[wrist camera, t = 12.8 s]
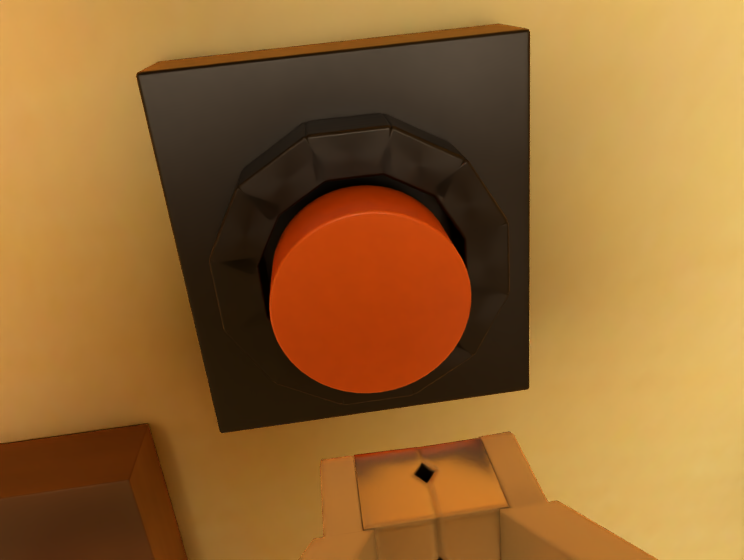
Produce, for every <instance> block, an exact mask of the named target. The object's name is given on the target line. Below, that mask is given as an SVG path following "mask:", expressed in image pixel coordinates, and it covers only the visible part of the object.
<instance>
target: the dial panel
mask: <svg viewBox="0 0 744 560" xmlns="http://www.w3.org/2000/svg"><path fill="white" fill-rule="evenodd" d="M0 560H187V556H186V553H185V549H184V546H183V542H182V539H181V536H180V532H179V529H178V525H177V522H176V518H175V515H174V511H173V508H172V504H171V501H170V497H169V494H168V491H167V487H166V484H165V480H164V477H163V473H162V470H161V466H160V463H159V459H158V456H157V452H156V449H155V445H154V442H153V439H152V435H151V432H150V428H149V425H148V424H142V425H135V426H128V427H121V428H114V429H107V430H100V431H93V432H86V433H78V434H71V435H64V436H57V437H50V438H43V439H36V440H29V441H22V442H15V443H8V444H1V445H0Z"/></svg>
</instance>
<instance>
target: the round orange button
mask: <svg viewBox="0 0 744 560" xmlns="http://www.w3.org/2000/svg"><path fill="white" fill-rule="evenodd" d="M470 308H471V286H470V280H469V276H468V272H467V269H466V267H465V264H464V262H463V260H462V258H461V256H460V255H459V253H458V251H457V250H456V248H455V246H454V245H453V243H452V242H451V240H450V238H449V237H448V235H447V233H446V232H445V230H444V228H443V227H442V225H441V224H440V222H439V220H438V219H437V218H436V217H435V216H434V214H433V213H432V212H431V211H430V210H429V209H428V208H427V207H425V206H424V205H423V204H422V203H420V202H419V201H418V200H416V199H415V198H413V197H411V196H409V195H407V194H405V193H403V192H400V191H397V190H394V189H392V188H387V187H382V186H373V185H359V186H350V187H345V188H341V189H338V190H334V191H331V192H329V193H327V194H325V195H322V196H320V197H318V198H317V199H315V200H314V201H312V202H310V203H309V204H307V205H306V206H305V207H304V208H303V209H302V210H300V211H299V212H298V213H297V214H296V215H295V216H294V218H293V219H292V220H291V221H290V222H289V224H288V225H287V227H286V228H285V229H284V231H283V233H282V235H281V237H280V239H279V241H278V244H277V247H276V250H275V253H274V258H273V264H272V276H271V287H270V302H269V311H270V321H271V324H272V328H273V332H274V334H275V337H276V339H277V342H278V344H279V345H280V347H281V349H282V350H283V352H284V353H285V355H286V356H287V357H288V358H289V360H290V361H291V362H292V363H293V364H294V365H295V366H296V367H297V368H298V369H299V370H300V371H302V372H303V373H304V374H306V375H307V376H309V377H310V378H312V379H314V380H315V381H317V382H319V383H321V384H323V385H326V386H328V387H331V388H334V389H338V390H342V391H347V392H354V393H377V392H384V391H389V390H394V389H397V388H400V387H403V386H406V385H408V384H411V383H413V382H415V381H417V380H419V379H421V378H422V377H424V376H426V375H427V374H429V373H430V372H431V371H433V370H434V369H435V368H437V367H438V366H439V365H440V364H441V363H442V362H443V361H444V360H445V359H446V358H447V357H448V356H449V355H450V353H451V352H452V351H453V350H454V348H455V347H456V345H457V343H458V342H459V340H460V338H461V336H462V334H463V332H464V330H465V328H466V324H467V321H468V318H469V313H470Z"/></svg>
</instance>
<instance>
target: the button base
mask: <svg viewBox="0 0 744 560" xmlns="http://www.w3.org/2000/svg"><path fill="white" fill-rule="evenodd" d="M136 78H137V82H138V86H139V90H140V95H141V99H142V103H143V107H144V112H145V116H146V120H147V124H148V129H149V133H150V137H151V141H152V146H153V150H154V154H155V158H156V163H157V167H158V171H159V175H160V180H161V184H162V188H163V192H164V197H165V201H166V205H167V209H168V214H169V218H170V222H171V226H172V231H173V235H174V239H175V243H176V248H177V252H178V256H179V260H180V265H181V269H182V273H183V277H184V281H185V286H186V290H187V294H188V298H189V303H190V307H191V311H192V315H193V320H194V324H195V328H196V332H197V337H198V341H199V345H200V349H201V354H202V358H203V362H204V366H205V371H206V375H207V379H208V383H209V388H210V392H211V396H212V400H213V405H214V409H215V413H216V417H217V422H218V426H219V430H220V432H221V433H226V432H233V431H240V430H247V429H254V428H261V427H268V426H275V425H282V424H289V423H296V422H303V421H310V420H317V419H324V418H331V417H338V416H345V415H352V414H359V413H366V412H373V411H380V410H387V409H394V408H401V407H408V406H415V405H422V404H429V403H436V402H443V401H450V400H457V399H464V398H471V397H478V396H485V395H492V394H499V393H506V392H513V391H520V390H527V389H529V233H530V31H529V29H526V28H520V27H514V26H509V25H503V24H492V25H483V26H474V27H465V28H457V29H448V30H439V31H430V32H421V33H412V34H403V35H394V36H385V37H376V38H367V39H358V40H349V41H340V42H331V43H322V44H313V45H304V46H295V47H286V48H277V49H268V50H259V51H250V52H241V53H232V54H223V55H214V56H205V57H196V58H187V59H178V60H169V61H160V62H157V63H155V64H153V65H151V66H149V67H147V68H146V69H144V70H142V71H140V72H138V73H137V74H136ZM359 185H373V186H382V187H387V188H392V189H394V190H397V191H400V192H403V193H405V194H407V195H409V196H411V197H413V198H415V199H416V200H418V201H419V202H420V203H422V204H423V205H424V206H425V207H427V208H428V209H429V210H430V211H431V212H432V213H433V214H434V216H435V217H436V218H437V219H438V220H439V222H440V224H441V225H442V227H443V228H444V230H445V232H446V233H447V235H448V237H449V238H450V240H451V242H452V243H453V245H454V246H455V248H456V250H457V251H458V253H459V255H460V256H461V258H462V260H463V262H464V264H465V267H466V269H467V272H468V276H469V280H470V286H471V308H470V313H469V318H468V321H467V324H466V328H465V330H464V332H463V334H462V336H461V338H460V340H459V342H458V343H457V345H456V347H455V348H454V350H453V351H452V352H451V353H450V355H449V356H448V357H447V358H446V359H445V360H444V361H443V362H442V363H441V364H440V365H439V366H438V367H437V368H435V369H434V370H433V371H431V372H430V373H429V374H427V375H426V376H424V377H422V378H421V379H419V380H417V381H415V382H413V383H411V384H408V385H406V386H403V387H400V388H397V389H394V390H389V391H384V392H377V393H354V392H347V391H342V390H338V389H334V388H331V387H328V386H326V385H323V384H321V383H319V382H317V381H315V380H314V379H312V378H310V377H309V376H307V375H306V374H304V373H303V372H302V371H300V370H299V369H298V368H297V367H296V366H295V365H294V364H293V363H292V362H291V361H290V360H289V358H288V357H287V356H286V355H285V353H284V352H283V350H282V349H281V347H280V345H279V344H278V342H277V339H276V337H275V334H274V332H273V328H272V324H271V321H270V311H269V302H270V287H271V276H272V264H273V258H274V253H275V250H276V247H277V244H278V241H279V239H280V237H281V235H282V233H283V231H284V229H285V228H286V227H287V225H288V224H289V222H290V221H291V220H292V219H293V218H294V216H295V215H296V214H297V213H298V212H299V211H300V210H302V209H303V208H304V207H305V206H306V205H307V204H309V203H310V202H312V201H314V200H315V199H317V198H318V197H320V196H322V195H325V194H327V193H329V192H331V191H334V190H338V189H341V188H345V187H350V186H359Z"/></svg>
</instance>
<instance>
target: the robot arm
mask: <svg viewBox="0 0 744 560" xmlns="http://www.w3.org/2000/svg"><path fill="white" fill-rule="evenodd" d="M354 458H355V463H354ZM355 467H356V470H355ZM320 474H321V495H322V515H323V535H324V537H320V538H315V539H313V540H312V542H311V543H310V545H309V546H308V547H307V549H306V550H305V551H304V553H303V554H302V556H301V557H300V558H299V560H658V559H656V558H655V557H653V556H651V555H649V554H648V553H646V552H644V551H643V550H641V549H639V548H638V547H636V546H634V545H632V544H631V543H629V542H627V541H626V540H624V539H622V538H620V537H619V536H617V535H615V534H614V533H612V532H610V531H609V530H607V529H605V528H603V527H602V526H600V525H598V524H597V523H595V522H593V521H591V520H590V519H588V518H586V517H585V516H583V515H581V514H580V513H578V512H576V511H574V510H573V509H571V508H569V507H568V506H566V505H564V504H562V503H561V502H559V501H552V502H548V501H547V499H546V497H545V495H544V493H543V491H542V489H541V487H540V485H539V483H538V481H537V479H536V477H535V475H534V473H533V471H532V469H531V467H530V465H529V463H528V461H527V459H526V457H525V455H524V454H523V452H522V450H521V448H520V446H519V444H518V442H517V440H516V438H515V436H514V434H512V433H511V432H504V433H498V434H492V435H487V436H481V437H479V438H475V439H469V440H462V441H456V442H449V443H443V444H436V445H430V446H423V447H414V448H406V449H398V450H390V451H382V452H374V453H366V454H358V455H354V457H353V456H345V457H338V458H331V459H323V460H321V464H320ZM356 475H357V477H356Z"/></svg>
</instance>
